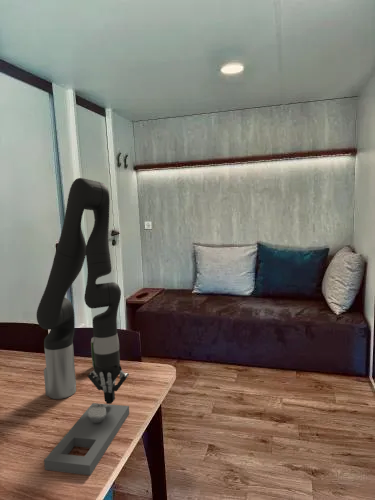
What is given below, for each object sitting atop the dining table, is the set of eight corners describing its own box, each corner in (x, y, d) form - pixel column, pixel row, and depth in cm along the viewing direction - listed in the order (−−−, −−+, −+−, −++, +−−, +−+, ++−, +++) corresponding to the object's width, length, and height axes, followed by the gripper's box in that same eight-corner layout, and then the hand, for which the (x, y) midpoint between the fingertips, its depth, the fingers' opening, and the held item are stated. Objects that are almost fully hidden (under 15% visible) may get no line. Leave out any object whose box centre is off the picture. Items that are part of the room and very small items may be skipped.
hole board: (44, 469, 87) (44, 460, 87) (93, 410, 112) (92, 403, 112) (90, 475, 85) (89, 465, 84) (129, 413, 110) (128, 405, 110)
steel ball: (85, 425, 100) (84, 409, 100) (93, 415, 105) (92, 399, 104) (102, 427, 99) (101, 410, 99) (109, 417, 104) (108, 400, 103)
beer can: (95, 371, 140) (93, 341, 139) (90, 366, 145) (88, 337, 143) (108, 367, 143) (106, 338, 142) (103, 362, 148) (101, 335, 146)
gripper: (80, 352, 105) (84, 407, 107) (122, 354, 103) (126, 410, 105) (91, 343, 113) (95, 395, 115) (131, 344, 110) (134, 397, 112)
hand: (110, 402), depth 110 cm, fingers closed
